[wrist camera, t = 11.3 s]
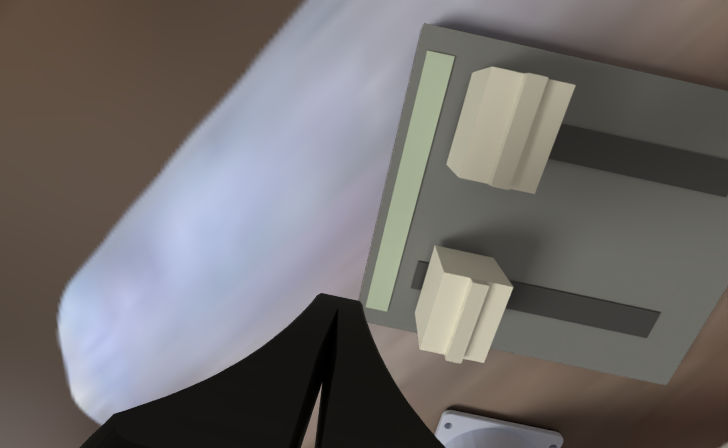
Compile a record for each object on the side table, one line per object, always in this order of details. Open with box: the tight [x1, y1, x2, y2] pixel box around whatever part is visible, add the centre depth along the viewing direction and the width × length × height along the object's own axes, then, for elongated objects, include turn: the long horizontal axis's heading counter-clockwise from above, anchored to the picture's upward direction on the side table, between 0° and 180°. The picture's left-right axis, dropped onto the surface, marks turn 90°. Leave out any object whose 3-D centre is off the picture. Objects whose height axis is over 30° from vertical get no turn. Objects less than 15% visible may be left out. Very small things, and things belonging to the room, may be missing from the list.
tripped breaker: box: [446, 67, 576, 194], centre depth 14 cm, size 4×3×3 cm
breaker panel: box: [358, 23, 728, 385], centre depth 19 cm, size 15×18×2 cm
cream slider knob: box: [415, 245, 513, 364], centre depth 17 cm, size 4×3×3 cm
